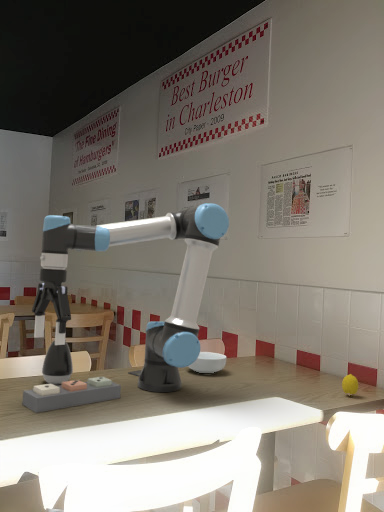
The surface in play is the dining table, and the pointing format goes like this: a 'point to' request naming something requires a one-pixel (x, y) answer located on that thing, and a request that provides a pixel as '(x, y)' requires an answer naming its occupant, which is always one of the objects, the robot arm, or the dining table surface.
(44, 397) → the button panel
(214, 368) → the cereal bowl
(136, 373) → the smartphone
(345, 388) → the lemon
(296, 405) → the dining table surface
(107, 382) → the button two sage
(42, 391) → the button one cream
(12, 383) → the dining table surface
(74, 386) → the button three terracotta
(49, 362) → the black egg-shaped speaker
